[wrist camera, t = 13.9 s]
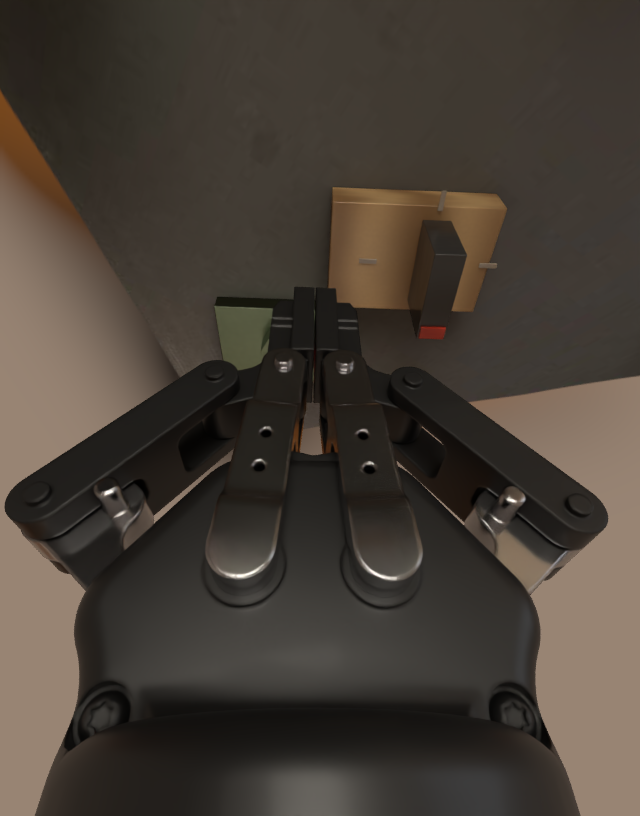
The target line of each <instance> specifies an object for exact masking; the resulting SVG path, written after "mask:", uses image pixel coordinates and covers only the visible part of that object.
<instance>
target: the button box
mask: <svg viewBox="0 0 640 816" xmlns="http://www.w3.org/2000/svg"><path fill="white" fill-rule="evenodd" d="M280 300H284V301H294V300H287V299H259V298H232V297H217V300H216V303H215V306H214V309H215V315H216V321H217V327H218V333H219V339H220V345H221V351H222V357H223V361H227V362H229V363H231V364H233V365H234V366H235V367H236V368H237V370H243V369H248V368H251V367H254V366H256V365H258V364H260V363H261V362H262V359H263V357H264V355H265V354H266V353H267V352H268V344H269V336H270V327H271V319H272V311H273V308H274V306H275V305H276V304H277V303H278V302H279V301H280ZM314 321H315V301H314ZM313 381H314V364H313Z"/></svg>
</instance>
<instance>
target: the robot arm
mask: <svg viewBox="0 0 640 816" xmlns="http://www.w3.org/2000/svg"><path fill="white" fill-rule="evenodd" d="M313 364H314V403H320V415H319V425H320V435H321V444H322V453H323V454H321V455H308V454H304V453H300V446H301V439H302V431H303V423H304V415H305V413H306V402H308V403H312V385H313ZM422 426H423V427H424V428H425V429H426V430H428V431H429V432H430V433H431V434H433V435H434V436H435V437H436V438H437V439H439V440H440V441H441V442H442V444H443V445H442V444H441V443H440V442H439V441H437V440H436V439H435V438H434V437H432V436H431V435H430V434H429V433H428V432H426V431H425V430H424V429H423V428H422ZM232 449H234V451H233V455H232V459H231V461H230V462H227V463H225V464H223V465H222V466H220V467H218V468H217V469H215V470H214V471H212V472H211V473H210V474H209V475H207V477H205V478H204V479H203V480H202V481H201V482H200V483H199V484H198V485H196V486H195V487H194V488H193V489H192V490H191V491H190V492H189V493H188V494H187V495H185V496H184V497H183V498H182V499H181V500H180V501H179V502H178V503H177V504H176V505H174V506H173V507H172V508H171V509H170V510H169V511H168V512H167V513H166V514H165V515H163V516H162V517H161V518H160V519H159V520H158V521H157V522H155V524H154V515H155V514H156V513H157V512H159V511H160V510H161V509H162V508H163V507H165V505H167V504H168V503H169V502H171V501H172V500H173V499H174V498H175V497H176V496H178V495H179V494H180V493H181V492H182V491H183V490H185V489H186V488H187V487H188V486H189V485H191V484H192V483H193V482H194V481H196V480H197V479H198V478H199V477H200V476H201V475H203V474H204V473H205V472H206V471H207V470H209V469H210V468H211V467H212V466H213V465H215V464H216V463H217V462H218V461H219V460H220V459H221V458H223V457H224V456H225V455H227V454H228V452H230V451H231V450H232ZM396 460H397V461H398V462H399V463H400V464H401V465H402V466H403V467H404V468H405V469H407V470H408V471H409V472H410V473H411V474H412V475H413V476H414V477H415V478H416V479H415V478H414V477H413V476H412V475H411V474H409V473H408V472H407V471H405V470H403V469H402V468H400V467H398V465H397V461H396ZM418 480H419V481H420V482H421V483H422V484H423V485H424V486H425V487H426V488H427V489H428V490H430V491H431V492H432V493H433V494H434V495H435V496H436V497H437V498H438V499H439V500H441V501H442V502H443V503H444V504H445V505H446V506H447V507H448V508H449V509H450V510H451V511H452V512H454V513H455V514H456V515H457V516H458V517H459V518H460V519H462V521H463V522H464V523H465V525H463V524H462V523H461V522H460V521H459V520H458V519H457V518H455V517H454V516H453V515H452V514H451V513H450V512H449V511H448V510H447V509H446V508H445V507H444V506H443V505H442V504H441V503H440V502H439V501H438V500H437V499H436V498H435V497H434V496H433V495H432V494H431V493H430V492H429V491H428V490H427V489H426V488H425V487H424V486H423V485H422V484H421V483H420V482H419V481H418ZM5 512H6V514H7V515H8V517H9V518H10V519H11V520H12V521H13V522H14V523H15V524H16V525H17V526H18V527H19V528H20V529H21V532H22V534H23V535H24V536H25V537H26V539H27V540H28V541H29V542H30V543H31V544H32V545H33V546H34V547H35V548H36V549H37V550H38V551H39V552H40V553H41V554H42V556H43V557H45V558H46V559H49V560H50V561H51V562H52V563H53V565H55V567H56V568H57V569H58V570H60V571H61V572H63V573H67V574H71V575H72V576H73V577H74V579H75V580H76V581H77V582H78V583H79V584H80V585H81V586H82V587H83V588H84V590H85V591H86V592H85V594H84V596H83V598H82V600H81V602H80V605H79V607H78V610H77V614H76V619H75V626H74V637H75V645H76V649H77V654H78V660H79V691H78V700H77V704H76V708H75V711H74V715H73V718H72V720H71V723H70V725H69V728H68V730H67V732H66V735H65V737H64V739H63V742H62V744H61V746H60V748H59V750H58V753H57V755H56V757H55V759H54V762H53V764H52V767H51V769H50V772H49V775H48V777H47V780H46V783H45V786H44V789H43V792H42V795H41V798H40V801H39V804H38V808H37V811H36V814H35V816H580V813H579V810H578V807H577V803H576V800H575V796H574V793H573V790H572V787H571V784H570V781H569V778H568V775H567V772H566V770H565V768H564V766H563V763H562V761H561V759H560V757H559V755H558V753H557V751H556V749H555V746H554V745H553V742H552V740H551V738H550V736H549V734H548V731H547V729H546V727H545V725H544V722H543V720H542V717H541V714H540V711H539V708H538V703H537V697H536V686H535V669H536V660H537V655H538V650H539V646H540V623H539V618H538V614H537V611H536V607H535V605H534V603H533V600H532V598H531V597H530V595H531V594H532V593H533V592H534V590H535V589H536V588H537V587H538V586H539V585H540V584H541V583H542V581H545V580H548V579H550V578H552V577H553V576H554V575H555V574H556V573H557V572H558V571H559V570H560V569H561V568H562V567H564V566H565V565H566V564H567V563H568V562H569V561H570V560H571V559H572V558H573V557H574V556H575V555H577V554H578V553H579V552H580V551H581V550H582V549H583V548H584V547H585V546H586V545H587V544H588V543H589V542H591V541H592V540H593V539H594V538H595V537H596V536H597V535H598V534H599V533H600V532H601V531H602V530H603V529H604V528H605V527H606V525H607V523H608V514H607V511H606V509H605V507H604V505H603V503H602V502H601V501H600V500H599V499H598V498H597V497H596V496H595V495H594V494H593V493H591V492H590V491H589V490H587V489H586V488H585V487H583V486H582V485H580V484H579V483H578V482H576V481H575V480H574V479H572V478H571V477H569V476H568V475H567V474H565V473H564V472H563V471H561V470H560V469H558V468H557V467H556V466H554V465H553V464H552V463H550V462H549V461H548V460H546V459H545V458H543V457H542V456H541V455H539V454H538V453H536V452H535V451H534V450H532V449H531V448H530V447H528V446H527V445H526V444H524V443H523V442H521V441H520V440H519V439H517V438H516V437H515V436H513V435H512V434H510V433H509V432H508V431H506V430H505V429H504V428H502V427H501V426H500V425H498V424H497V423H495V422H494V421H493V420H491V419H490V418H488V417H487V416H486V415H485V414H483V413H482V412H480V411H479V410H478V409H476V408H475V407H473V406H472V405H471V404H469V403H468V402H467V401H465V400H464V399H463V398H461V397H460V396H458V395H457V394H456V393H454V392H453V391H452V390H450V389H449V388H448V387H446V386H445V385H443V384H442V383H441V382H439V381H438V380H437V379H435V378H434V377H432V376H431V375H430V374H428V373H427V372H425V371H423V370H421V369H419V368H415V367H402V368H399V369H397V370H395V371H394V372H393V373H392V374H391V375H388V374H384V373H381V372H378V371H375V370H373V369H372V368H370V367H369V366H367V365H366V361H365V360H364V358H363V357H362V354H361V345H360V336H359V330H358V319H357V311H356V310H355V309H354V307H353V306H352V305H351V304H350V303H339V302H337V294H336V288H316V300H315V321H314V288H312V287H294V301H284V300H280V301H279V302H278V303H277V304H276V305H275V306H274V308H273V311H272V319H271V327H270V336H269V344H268V352H267V353H266V354H265V355H264V357H263V359H262V362H261V363H260V364H258V365H256V366H254V367H251V368H248V369H243V370H237V368H236V367H235V366H234V365H233V364H231V363H229V362H227V361H222V360H213V361H208V362H205V363H203V364H201V365H199V366H198V367H196V368H194V369H193V370H191V371H190V372H188V373H187V374H185V375H184V376H182V377H181V378H179V379H178V380H176V381H175V382H173V383H171V384H170V385H168V386H167V387H165V388H164V389H162V390H161V391H159V392H158V393H156V394H154V395H153V396H151V397H150V398H148V399H147V400H145V401H144V402H142V403H141V404H139V405H137V406H136V407H135V408H133V409H131V410H130V411H129V412H127V413H125V414H124V415H122V416H121V417H119V418H117V419H116V420H114V421H113V422H111V423H110V424H108V425H107V426H105V427H104V428H102V429H101V430H99V431H97V432H96V433H94V434H93V435H91V436H90V437H88V438H87V439H85V440H84V441H82V442H80V443H79V444H77V445H76V446H74V447H73V448H71V449H70V450H68V451H67V452H65V453H64V454H62V455H60V456H59V457H57V458H56V459H54V460H53V461H51V462H50V463H48V464H47V465H45V466H44V467H42V468H40V469H39V470H37V471H36V472H34V473H33V474H31V475H30V476H28V477H27V478H25V479H24V480H22V481H21V482H19V483H18V484H17V485H16V486H15V487H14V488H13V489H12V490H11V491H10V493H9V494H8V496H7V498H6V501H5Z"/></svg>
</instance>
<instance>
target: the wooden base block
mask: <svg viewBox="0 0 640 816" xmlns="http://www.w3.org/2000/svg"><path fill="white" fill-rule="evenodd" d="M506 211H507V208H506V206H505V205H504V204H503V202H502V201H501V199H500V198H499V197H498V195H497V194H487V193H462V192H447V191H442V192H438V191H413V190H388V189H363V188H338V187H333V188H332V206H331V226H330V245H329V265H328V285H327V288H336V294H337V302H339V303H350V304H351V305H352V306H353V307H354V308H380V309H408V310H410V309H409V305H408V294H409V289H410V284H411V279H412V274H413V268H414V263H415V258H416V253H417V247H418V242H419V237H420V232H421V227H422V221H423V220H439V221H452V223H453V226H454V228H455V230H456V232H457V234H458V236H459V238H460V241H461V243H462V245H463V247H464V249H465V251H466V253H467V258H466V262H465V265H464V269H463V272H462V276H461V279H460V283H459V287H458V290H457V294H456V297H455V301H454V304H453V308H452V311H463V312H473V309H474V306H475V303H476V300H477V297H478V294H479V291H480V289H481V286H482V283H483V280H484V277H485V274H486V271H487V268H496V266H497V264H495V263H489V262H490V259H491V256H492V253H493V250H494V247H495V244H496V241H497V238H498V235H499V232H500V229H501V226H502V223H503V220H504V217H505V214H506Z"/></svg>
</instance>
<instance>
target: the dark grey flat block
mask: <svg viewBox="0 0 640 816" xmlns="http://www.w3.org/2000/svg"><path fill="white" fill-rule="evenodd" d="M466 258H467V253H466V251H465V249H464V247H463V245H462V243H461V241H460V238H459V236H458V234H457V232H456V230H455V228H454V226H453V223H452V221H439V220H423V221H422V227H421V232H420V237H419V242H418V247H417V253H416V258H415V263H414V268H413V274H412V279H411V284H410V289H409V294H408V305H409V309H410V314H411V318H412V322H413V327H414V331H415V335H416V338H419V339H444V336H445V333H446V329H447V326H448V322H449V318H450V315H451V311H452V308H453V304H454V301H455V297H456V294H457V290H458V287H459V283H460V279H461V276H462V272H463V269H464V265H465V262H466Z"/></svg>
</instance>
